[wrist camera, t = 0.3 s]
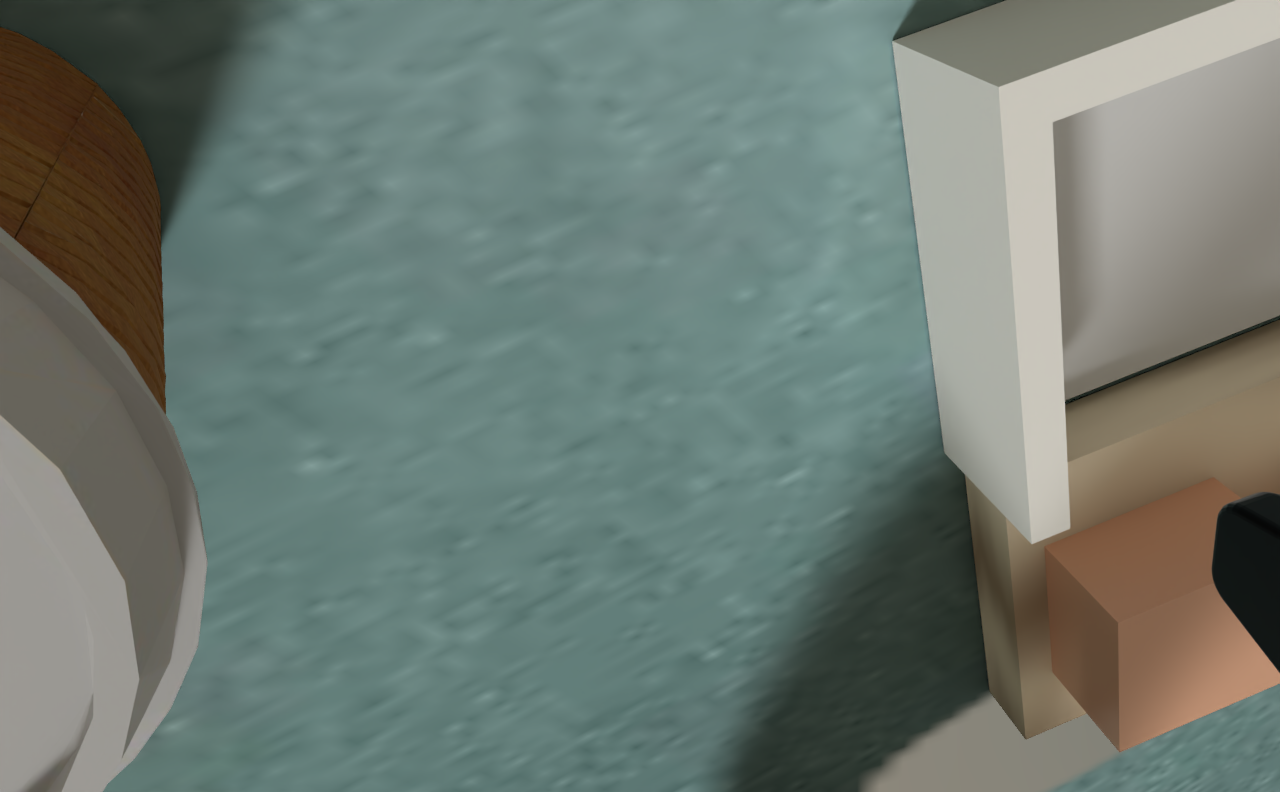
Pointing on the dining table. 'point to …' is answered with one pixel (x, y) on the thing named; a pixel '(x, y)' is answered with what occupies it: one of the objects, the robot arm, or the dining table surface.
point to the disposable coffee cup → (84, 440)
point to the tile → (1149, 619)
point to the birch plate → (1123, 494)
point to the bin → (1084, 211)
